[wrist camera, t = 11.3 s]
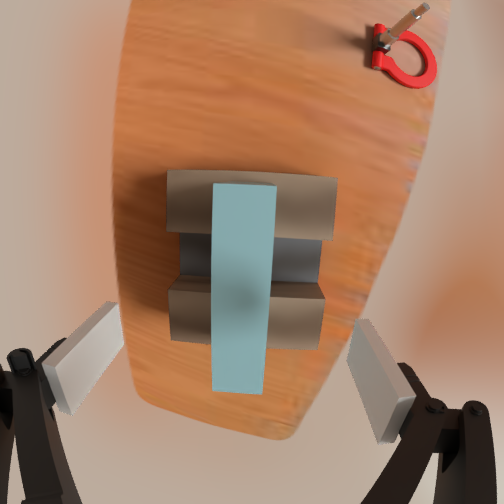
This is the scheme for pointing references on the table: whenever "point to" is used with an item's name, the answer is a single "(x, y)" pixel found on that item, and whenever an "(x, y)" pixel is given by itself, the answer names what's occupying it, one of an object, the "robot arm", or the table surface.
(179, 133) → the table surface
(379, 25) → the tow hook
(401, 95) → the table surface
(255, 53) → the table surface
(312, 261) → the grey grooved block
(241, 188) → the teal beam
